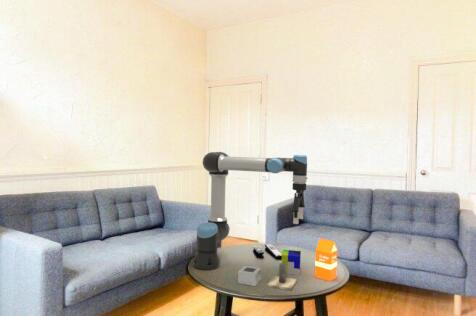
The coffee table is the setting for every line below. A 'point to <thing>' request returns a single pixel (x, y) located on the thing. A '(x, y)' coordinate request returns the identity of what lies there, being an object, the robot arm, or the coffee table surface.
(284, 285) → the shaft block
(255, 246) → the coffee table surface
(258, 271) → the frame
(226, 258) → the coffee table surface
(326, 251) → the orange juice
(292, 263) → the puzzle toy
